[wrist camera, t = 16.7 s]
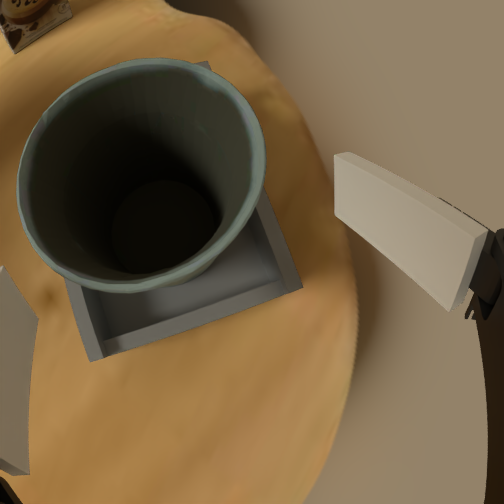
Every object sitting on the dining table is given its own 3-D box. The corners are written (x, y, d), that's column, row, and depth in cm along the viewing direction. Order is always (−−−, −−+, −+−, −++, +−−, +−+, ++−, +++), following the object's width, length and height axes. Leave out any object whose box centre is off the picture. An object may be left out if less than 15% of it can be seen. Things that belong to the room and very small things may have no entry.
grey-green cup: (253, 197, 24) (301, 103, 12) (199, 325, 21) (198, 343, 10) (135, 149, 23) (101, 39, 11) (75, 266, 21) (-22, 224, 9)
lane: (284, 292, 24) (317, 283, 17) (109, 354, 21) (75, 368, 14) (214, 112, 26) (220, 58, 19) (63, 161, 23) (31, 117, 16)
